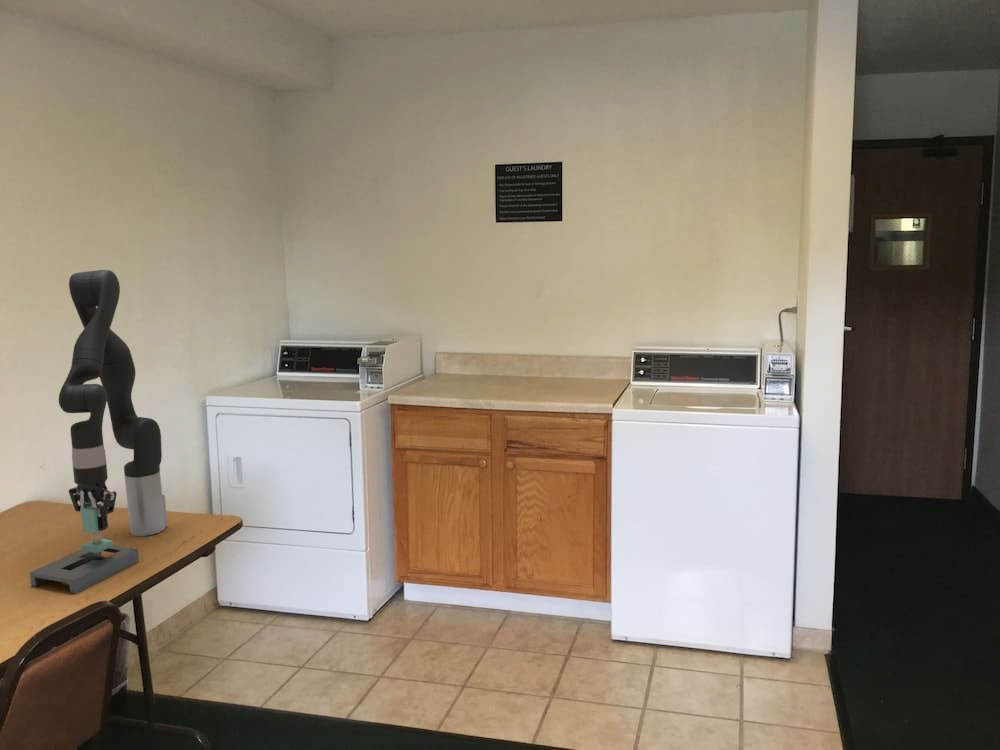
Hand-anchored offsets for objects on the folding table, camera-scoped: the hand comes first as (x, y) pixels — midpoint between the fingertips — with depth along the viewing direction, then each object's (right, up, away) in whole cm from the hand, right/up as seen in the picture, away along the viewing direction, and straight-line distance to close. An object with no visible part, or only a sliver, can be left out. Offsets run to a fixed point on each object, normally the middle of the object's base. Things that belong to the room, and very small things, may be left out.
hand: (95, 528), depth 208 cm
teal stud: (0, -5, +1) cm, 5 cm away
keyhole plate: (-1, -11, -2) cm, 11 cm away
